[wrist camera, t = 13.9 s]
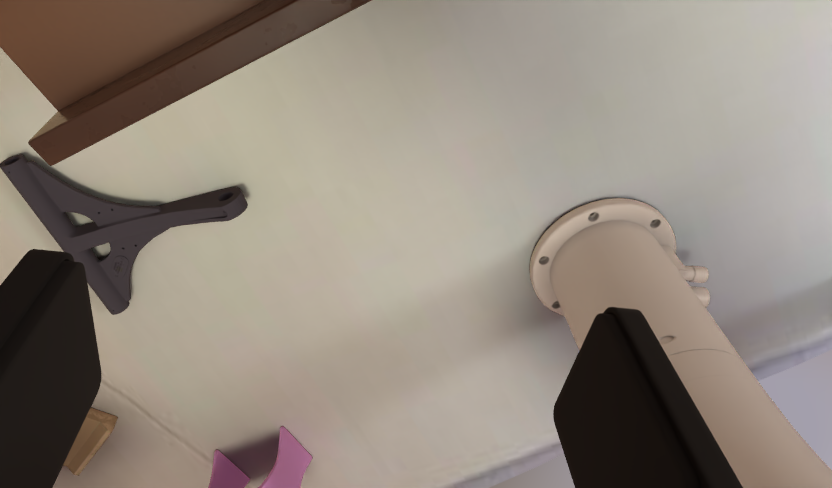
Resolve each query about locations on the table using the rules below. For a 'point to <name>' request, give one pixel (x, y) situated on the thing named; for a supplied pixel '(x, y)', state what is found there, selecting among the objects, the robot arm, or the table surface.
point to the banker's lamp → (89, 439)
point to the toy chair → (283, 476)
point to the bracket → (110, 224)
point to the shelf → (140, 54)
